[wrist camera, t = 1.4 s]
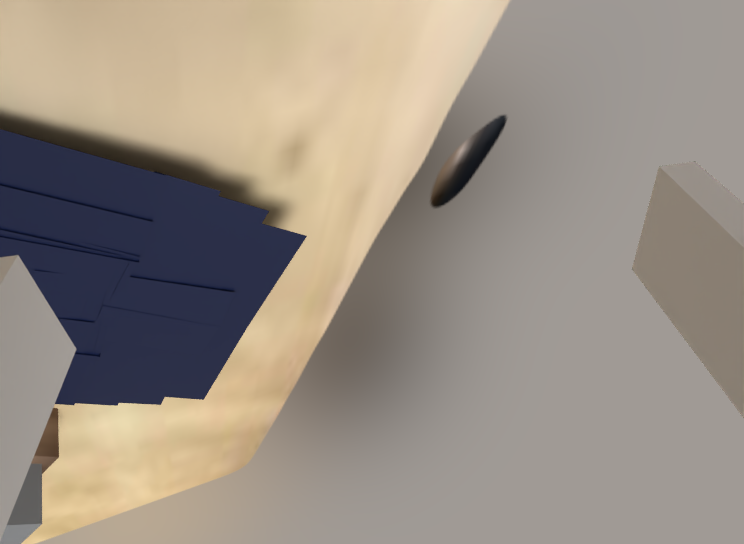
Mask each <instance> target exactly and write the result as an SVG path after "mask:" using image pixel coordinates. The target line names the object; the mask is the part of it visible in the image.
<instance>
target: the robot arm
mask: <svg viewBox="0 0 744 544" xmlns="http://www.w3.org/2000/svg"><path fill="white" fill-rule="evenodd" d="M632 270H633V271H634V272H635V274H636V275H637V276H638V278H639V279H640V280H641V282H642V283H643V284H644V286H645V287H646V288H647V290H648V291H649V292H650V294H651V295H652V296H653V298H654V299H655V300H656V302H657V303H658V304H659V306H660V307H661V308H662V310H663V311H664V312H665V314H666V315H667V316H668V318H669V319H670V320H671V321H672V323H673V324H674V326H675V327H676V328H677V330H678V331H679V332H680V334H681V335H682V336H683V338H684V339H685V340H686V342H687V343H688V344H689V346H690V347H691V348H692V350H693V351H694V352H695V354H696V355H697V356H698V357H699V359H700V360H701V361H702V363H703V364H704V366H705V367H706V368H707V370H708V371H709V372H710V374H711V375H712V376H713V378H714V379H715V380H716V382H717V383H718V384H719V386H720V387H721V388H722V390H723V391H724V392H725V394H726V395H727V396H728V398H729V399H730V400H731V402H732V403H733V404H734V406H735V407H736V408H737V410H738V411H739V412H740V414H741V415H742V416H743V418H744V203H743V202H742V201H741V200H739V199H738V198H737V197H736V196H735V195H733V194H732V193H731V192H730V191H729V190H728V189H727V188H725V187H724V186H723V185H722V184H721V183H720V182H718V181H717V180H716V179H715V178H714V177H713V176H712V175H710V174H709V173H708V172H707V171H706V170H704V169H703V168H702V167H701V166H700V165H699V164H698V163H696V162H695V161H694V162H687V163H680V164H673V165H665V166H659V169H658V172H657V176H656V180H655V184H654V187H653V191H652V195H651V199H650V203H649V206H648V210H647V214H646V218H645V222H644V225H643V229H642V233H641V237H640V241H639V244H638V248H637V252H636V256H635V260H634V264H633V267H632ZM75 351H76V347H75V346H74V344H73V343H72V341H71V339H70V338H69V336H68V335H67V333H66V331H65V330H64V328H63V326H62V325H61V323H60V322H59V320H58V318H57V317H56V315H55V314H54V312H53V310H52V309H51V307H50V305H49V304H48V302H47V301H46V299H45V297H44V296H43V294H42V293H41V291H40V289H39V288H38V286H37V284H36V283H35V281H34V280H33V278H32V276H31V275H30V273H29V272H28V270H27V268H26V267H25V265H24V263H23V262H22V260H21V259H20V257H19V255H15V256H7V257H0V541H1V538H2V535H3V533H4V530H5V528H6V525H7V523H8V520H9V518H10V515H11V513H12V510H13V508H14V505H15V503H16V500H17V498H18V495H19V493H20V490H21V488H22V485H23V483H24V480H25V477H26V475H27V472H28V470H29V467H30V465H31V462H32V460H33V457H34V455H35V452H36V450H37V447H38V445H39V442H40V440H41V437H42V435H43V432H44V430H45V427H46V425H47V422H48V419H49V417H50V414H51V412H52V409H53V407H54V404H55V402H56V399H57V397H58V394H59V392H60V389H61V387H62V384H63V382H64V379H65V377H66V374H67V372H68V369H69V367H70V364H71V361H72V359H73V356H74V354H75Z"/></svg>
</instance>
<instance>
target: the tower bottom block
mask: <svg viewBox="0 0 744 544" xmlns="http://www.w3.org/2000/svg"><path fill="white" fill-rule="evenodd" d="M58 457H59V443H58V409H57V408H53V409H52V412H51V414H50V417H49V419H48V422H47V425H46V427H45V430H44V432H43V435H42V437H41V440H40V442H39V445H38V447H37V450H36V452H35V455H34V457H33V460H32V462H31V464H42V473H43V472H44V471H45V470H46V469H47V468H48V467H49V466H50V465H51V464H52V463H53V462H54V461H55V460H56V459H57V458H58Z"/></svg>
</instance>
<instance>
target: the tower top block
mask: <svg viewBox="0 0 744 544" xmlns="http://www.w3.org/2000/svg"><path fill="white" fill-rule="evenodd" d="M41 524H42V464H31V465H30V467H29V470H28V472H27V475H26V477H25V480H24V483H23V485H22V488H21V490H20V493H19V495H18V498H17V500H16V503H15V505H14V508H13V510H12V513H11V515H10V518H9V520H8V523H7V525H6V528H5V530H4V533H3V535H2V538H1V541H0V544H21V543H22V542H23V541H24V540H25V539H26V538H27V537H28V536H29V535H30V534H32V533H33V532H34V531H35V530H36V529H37V528H38V527H39V526H40V525H41Z"/></svg>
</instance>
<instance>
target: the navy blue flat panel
mask: <svg viewBox="0 0 744 544" xmlns="http://www.w3.org/2000/svg"><path fill="white" fill-rule="evenodd" d="M220 192H221V191H218V190H215V189H212V188H208V187H205V186H202V185H198V184H195V183H192V182H189V181H185V180H182V179H179V178H175V177H172V176H169V175H165V174H162V173H159V172H156V171H155V172H151V171H148V170H144V169H140V168H137V167H133V166H130V165H126V164H123V163H119V162H115V161H112V160H108V159H105V158H101V157H98V156H94V155H91V154H87V153H83V152H80V151H76V150H73V149H69V148H66V147H62V146H58V145H55V144H51V143H48V142H44V141H41V140H37V139H33V138H30V137H26V136H23V135H19V134H16V133H12V132H8V131H5V130H1V129H0V257H7V256H15V255H19V257H20V259H21V260H22V262H23V263H24V265H25V267H26V268H27V270H28V272H29V273H30V275H31V276H32V278H33V280H34V281H35V283H36V284H37V286H38V288H39V289H40V291H41V293H42V294H43V296H44V297H45V299H46V301H47V302H48V304H49V305H50V307H51V309H52V310H53V312H54V314H55V315H56V317H57V318H58V320H59V322H60V323H61V325H62V326H63V328H64V330H65V331H66V333H67V335H68V336H69V338H70V339H71V341H72V343H73V344H74V346H75V347H76V351H75V354H74V356H73V359H72V361H71V364H70V367H69V369H68V372H67V374H66V377H65V379H64V382H63V384H62V387H61V389H60V392H59V394H58V397H57V399H56V402H55V404H65V405H74V404H75V403H82V404H100V405H118V403H137V404H158V405H161V403H162V401H163V399H164V397H175V398H189V399H202V400H204V398H205V396H206V395H207V393H208V391H209V390H210V388H211V386H212V385H213V383H214V381H215V380H216V378H217V376H218V375H219V373H220V371H221V370H222V368H223V366H224V365H225V363H226V362H227V360H228V358H229V357H230V355H231V353H232V352H233V350H234V348H235V347H236V345H237V343H238V342H239V340H240V338H241V337H242V335H243V333H244V332H245V330H246V328H247V327H248V325H249V324H250V322H251V321H252V319H253V318H254V316H255V315H256V313H257V311H258V310H259V308H260V307H261V305H262V304H263V302H264V301H265V299H266V298H267V296H268V295H269V293H270V292H271V290H272V289H273V287H274V285H275V284H276V282H277V281H278V279H279V278H280V276H281V275H282V273H283V272H284V270H285V269H286V267H287V266H288V264H289V263H290V261H291V259H292V258H293V256H294V255H295V253H296V252H297V250H298V249H299V247H300V246H301V244H302V243H303V241H304V240H305V238H306V237H307V236H305V235H301V234H298V233H294V232H290V231H287V230H283V229H280V228H276V227H272V226H269V225H265V224H262V222H263V220H264V219H265V217H266V215H267V214H268V212H269V211H267V210H264V209H260V208H257V207H254V206H250V205H247V204H244V203H240V202H237V201H233V200H230V199H227V198H223V197H220V196H219V194H220Z"/></svg>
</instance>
